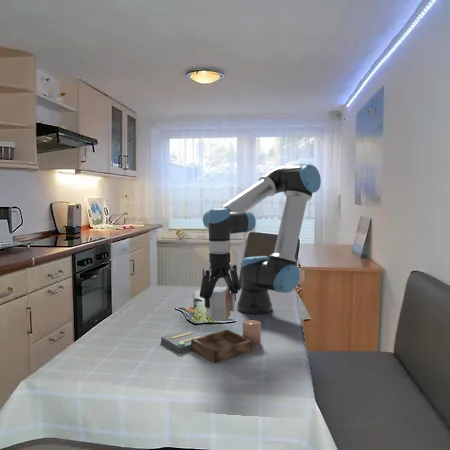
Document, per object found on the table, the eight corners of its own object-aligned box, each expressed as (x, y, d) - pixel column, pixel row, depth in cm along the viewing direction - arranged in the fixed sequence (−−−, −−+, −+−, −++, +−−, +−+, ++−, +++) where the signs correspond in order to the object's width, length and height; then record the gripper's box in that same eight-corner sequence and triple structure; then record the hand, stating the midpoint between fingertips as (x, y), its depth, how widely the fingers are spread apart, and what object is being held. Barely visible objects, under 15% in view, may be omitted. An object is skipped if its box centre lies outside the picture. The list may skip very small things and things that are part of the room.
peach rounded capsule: (252, 338, 142) (252, 319, 141) (264, 343, 137) (264, 323, 137) (239, 342, 138) (239, 322, 138) (250, 347, 134) (251, 327, 133)
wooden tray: (227, 339, 141) (227, 329, 141) (252, 351, 131) (252, 340, 130) (191, 349, 132) (191, 339, 131) (215, 363, 121) (215, 351, 121)
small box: (226, 321, 142) (225, 292, 141) (210, 321, 144) (210, 291, 143) (230, 314, 150) (230, 286, 149) (215, 313, 151) (215, 286, 150)
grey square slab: (190, 334, 145) (190, 327, 145) (210, 344, 136) (210, 337, 136) (161, 342, 138) (161, 334, 138) (180, 353, 128) (180, 345, 128)
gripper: (236, 247, 154) (237, 304, 157) (187, 254, 141) (189, 317, 143) (249, 249, 148) (250, 309, 151) (200, 257, 135) (201, 322, 137)
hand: (220, 313), depth 147 cm, fingers closed on small box, 9 cm apart
